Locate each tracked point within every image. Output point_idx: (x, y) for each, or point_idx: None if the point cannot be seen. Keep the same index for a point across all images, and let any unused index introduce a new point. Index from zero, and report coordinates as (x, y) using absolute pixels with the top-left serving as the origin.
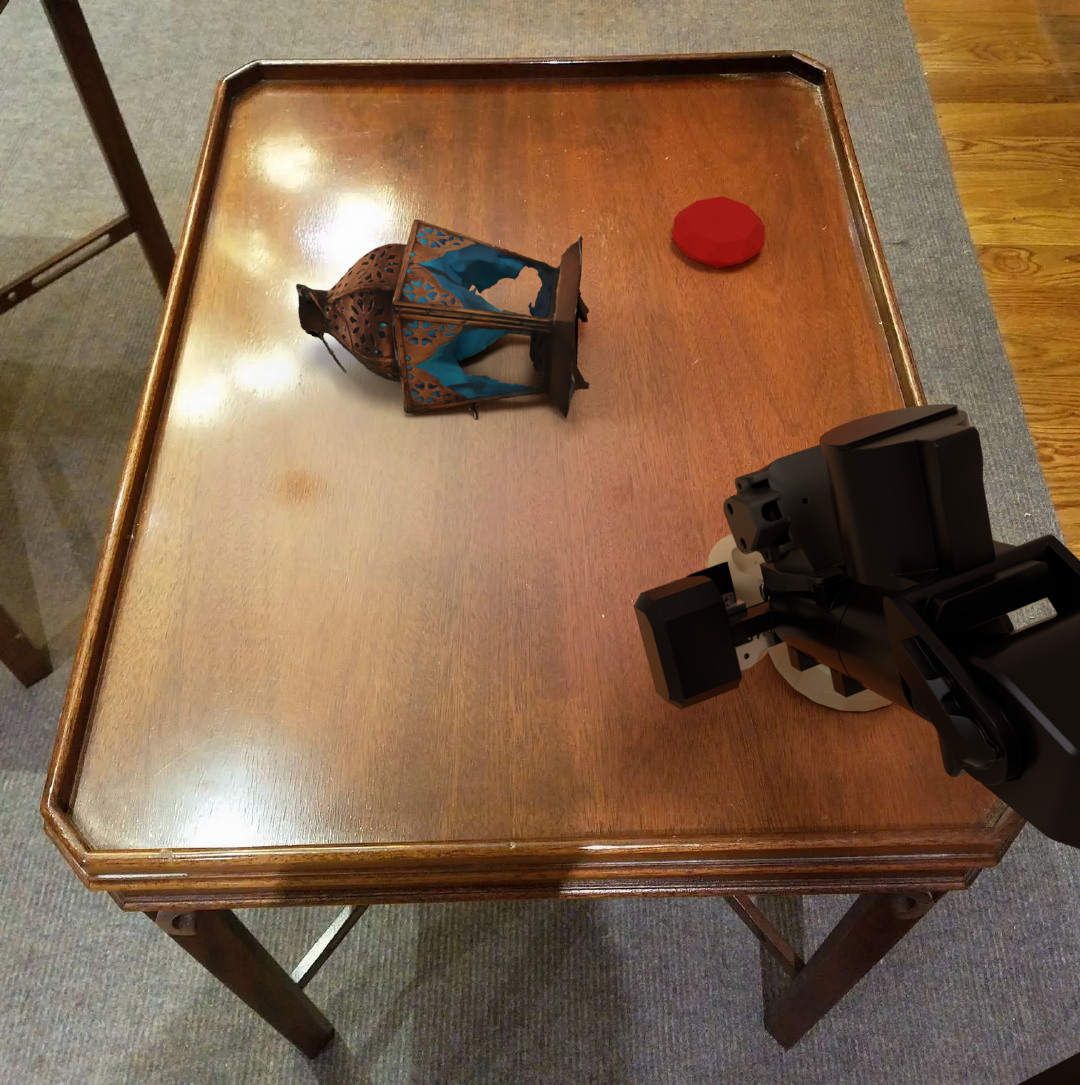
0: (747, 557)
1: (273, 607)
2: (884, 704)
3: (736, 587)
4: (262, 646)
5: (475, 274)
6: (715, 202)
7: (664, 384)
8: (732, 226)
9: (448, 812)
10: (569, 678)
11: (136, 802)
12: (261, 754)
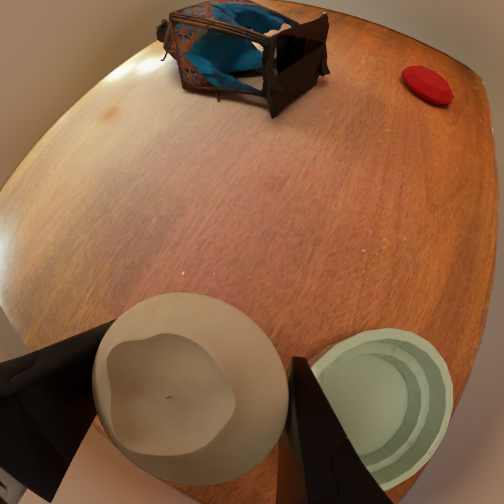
0: (163, 373)
1: (53, 171)
2: None
3: (99, 410)
4: (38, 189)
5: (251, 20)
6: (430, 71)
7: (358, 130)
8: (436, 82)
9: (31, 332)
10: (126, 305)
11: None
12: (7, 243)
